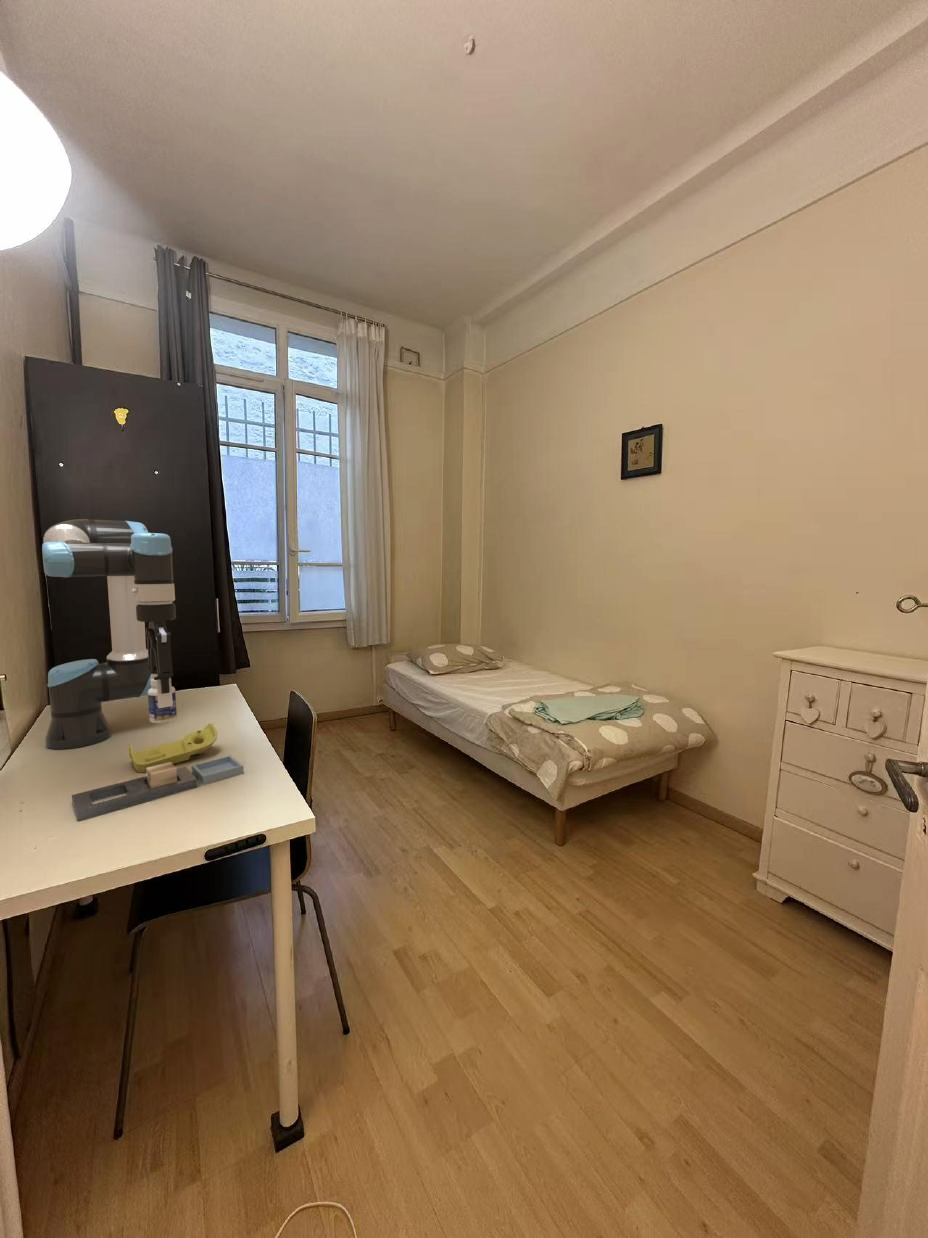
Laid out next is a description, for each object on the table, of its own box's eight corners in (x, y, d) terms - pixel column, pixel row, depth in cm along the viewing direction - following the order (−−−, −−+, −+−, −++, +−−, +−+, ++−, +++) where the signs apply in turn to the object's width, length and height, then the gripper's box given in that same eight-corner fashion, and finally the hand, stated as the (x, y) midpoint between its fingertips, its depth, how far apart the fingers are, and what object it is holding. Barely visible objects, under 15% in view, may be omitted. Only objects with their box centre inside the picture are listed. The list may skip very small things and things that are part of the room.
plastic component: (135, 767, 119) (127, 740, 125) (138, 788, 123) (129, 761, 129) (222, 742, 132) (210, 719, 138) (221, 761, 136) (210, 738, 142)
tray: (192, 772, 121) (191, 765, 121) (230, 762, 127) (230, 755, 127) (203, 784, 115) (203, 776, 114) (243, 773, 121) (243, 765, 121)
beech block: (147, 788, 113) (146, 768, 112) (172, 782, 116) (170, 762, 116) (152, 795, 109) (151, 774, 109) (177, 789, 113) (176, 768, 112)
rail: (72, 804, 105) (71, 795, 105) (185, 774, 120) (184, 766, 120) (77, 821, 98) (77, 812, 98) (197, 787, 113) (196, 779, 113)
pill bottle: (156, 725, 108) (153, 682, 107) (145, 721, 111) (142, 679, 110) (181, 719, 112) (178, 677, 111) (170, 715, 115) (167, 674, 114)
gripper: (129, 601, 113) (136, 698, 116) (143, 606, 99) (151, 716, 102) (166, 600, 118) (172, 693, 121) (184, 604, 104) (191, 709, 107)
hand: (162, 703), depth 111 cm, fingers closed on pill bottle, 5 cm apart
